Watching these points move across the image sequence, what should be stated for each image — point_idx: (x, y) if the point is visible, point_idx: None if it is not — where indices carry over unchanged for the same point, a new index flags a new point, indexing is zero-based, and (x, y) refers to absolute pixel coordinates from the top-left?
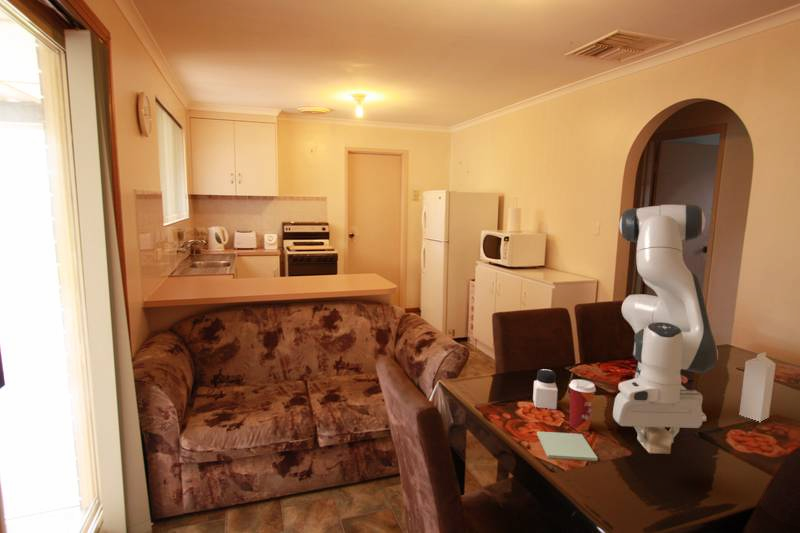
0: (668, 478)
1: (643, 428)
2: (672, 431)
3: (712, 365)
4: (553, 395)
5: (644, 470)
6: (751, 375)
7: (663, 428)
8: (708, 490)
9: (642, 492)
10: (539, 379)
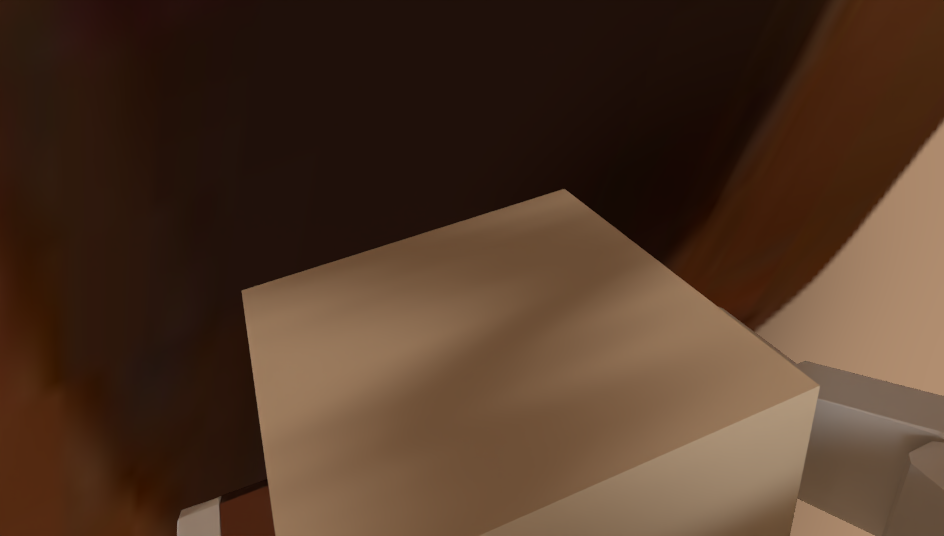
0: (476, 195)
1: None
2: (853, 479)
3: None
4: None
5: (291, 135)
6: None
7: (759, 532)
8: (682, 242)
9: (220, 481)
10: None
